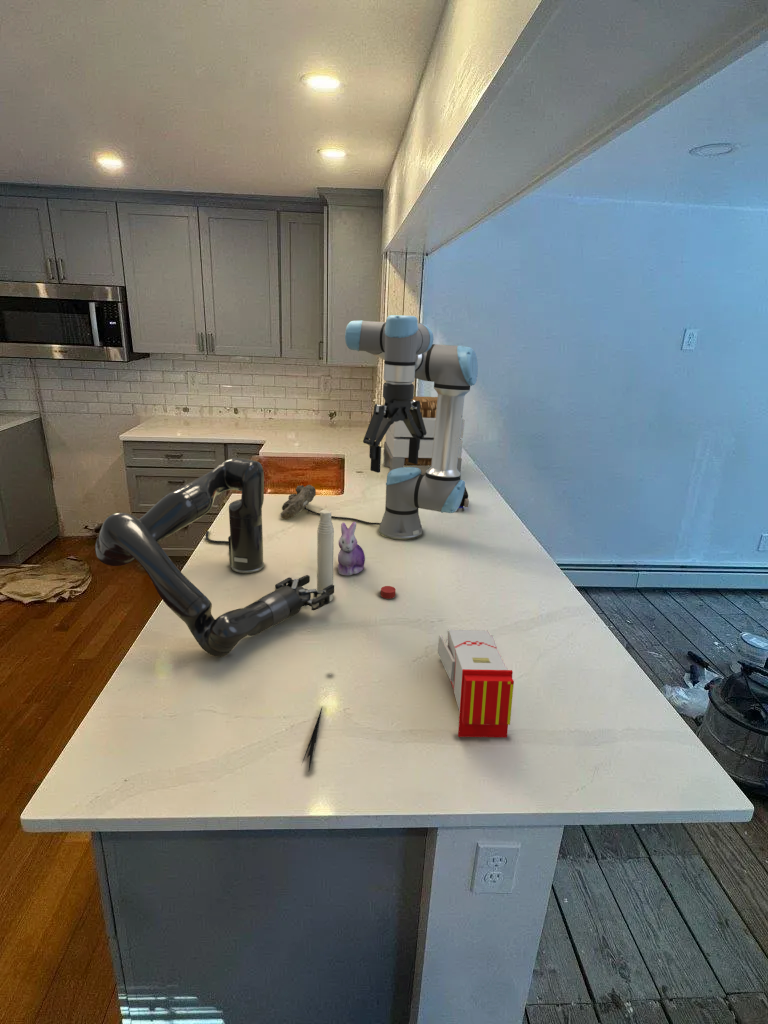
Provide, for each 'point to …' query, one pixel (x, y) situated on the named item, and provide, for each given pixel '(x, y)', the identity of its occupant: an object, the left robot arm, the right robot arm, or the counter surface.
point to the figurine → (350, 552)
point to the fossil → (298, 501)
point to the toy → (478, 682)
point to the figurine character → (464, 500)
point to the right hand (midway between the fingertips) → (394, 467)
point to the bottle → (325, 551)
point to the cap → (388, 592)
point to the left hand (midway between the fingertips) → (320, 583)
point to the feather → (313, 740)
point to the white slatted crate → (400, 435)
